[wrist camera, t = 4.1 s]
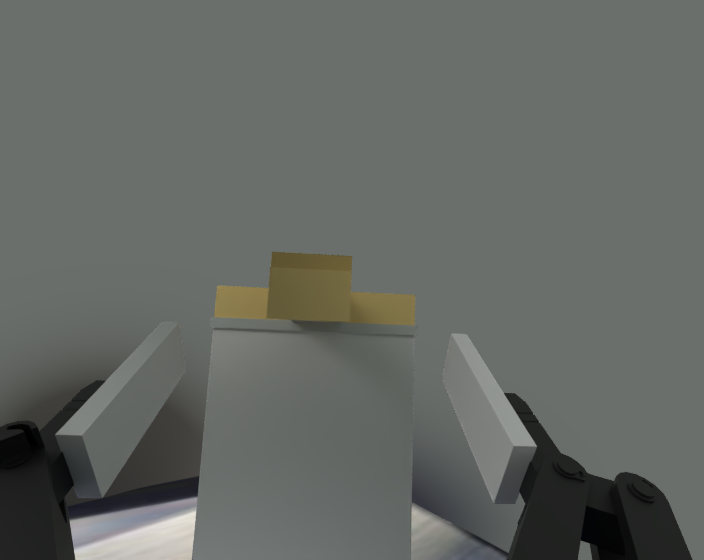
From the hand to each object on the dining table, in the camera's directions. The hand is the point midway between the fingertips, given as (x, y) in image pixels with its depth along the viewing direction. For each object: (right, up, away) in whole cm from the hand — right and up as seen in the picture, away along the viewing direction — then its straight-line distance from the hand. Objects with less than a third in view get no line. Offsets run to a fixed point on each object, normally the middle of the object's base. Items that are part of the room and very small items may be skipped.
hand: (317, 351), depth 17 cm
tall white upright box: (-3, -31, +15) cm, 34 cm away
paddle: (-1, 0, +13) cm, 13 cm away
